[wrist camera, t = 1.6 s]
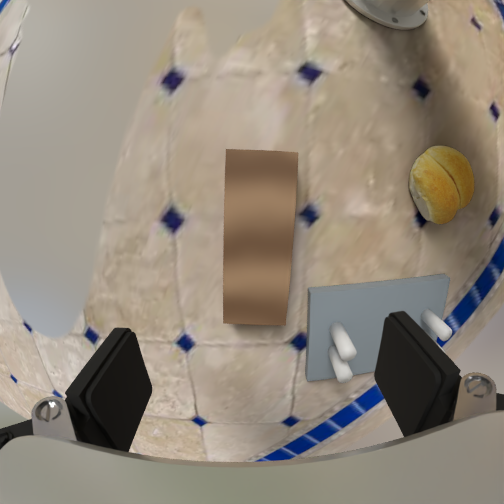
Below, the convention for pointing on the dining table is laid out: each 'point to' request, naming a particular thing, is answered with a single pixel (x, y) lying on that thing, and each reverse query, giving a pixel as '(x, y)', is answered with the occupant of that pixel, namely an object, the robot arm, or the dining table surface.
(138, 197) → the dining table surface
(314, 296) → the peg stand
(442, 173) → the bread roll
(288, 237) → the brown wooden block
